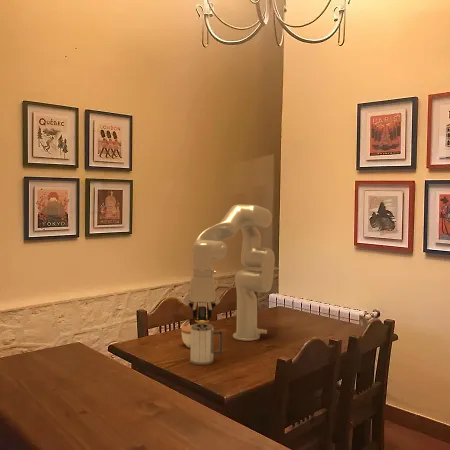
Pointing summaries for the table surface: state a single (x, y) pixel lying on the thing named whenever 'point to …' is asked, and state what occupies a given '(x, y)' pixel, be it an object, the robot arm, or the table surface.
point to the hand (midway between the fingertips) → (202, 318)
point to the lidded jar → (186, 335)
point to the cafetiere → (203, 344)
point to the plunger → (202, 315)
